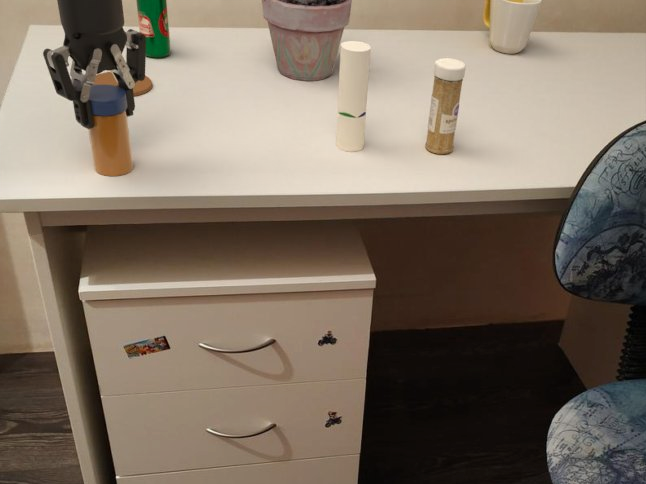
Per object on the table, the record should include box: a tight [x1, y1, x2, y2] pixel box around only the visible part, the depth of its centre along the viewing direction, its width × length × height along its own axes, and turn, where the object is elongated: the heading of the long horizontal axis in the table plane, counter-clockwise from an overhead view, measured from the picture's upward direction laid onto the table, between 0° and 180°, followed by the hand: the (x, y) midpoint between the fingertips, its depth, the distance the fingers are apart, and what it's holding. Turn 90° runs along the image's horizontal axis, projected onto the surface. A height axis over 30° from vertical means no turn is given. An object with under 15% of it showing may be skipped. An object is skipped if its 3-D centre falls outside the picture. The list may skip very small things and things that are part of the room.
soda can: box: [135, 0, 172, 59], centre depth 142 cm, size 5×5×12 cm
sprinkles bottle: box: [424, 57, 467, 155], centre depth 122 cm, size 5×5×14 cm
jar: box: [87, 110, 134, 177], centre depth 109 cm, size 5×5×10 cm
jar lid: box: [88, 85, 128, 116], centre depth 106 cm, size 6×6×2 cm
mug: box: [482, 0, 543, 55], centre depth 164 cm, size 14×10×10 cm
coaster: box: [92, 71, 153, 97], centre depth 134 cm, size 10×10×1 cm
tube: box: [335, 40, 372, 153], centre depth 120 cm, size 4×4×15 cm
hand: (107, 119), depth 108 cm, fingers closed on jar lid, 5 cm apart
